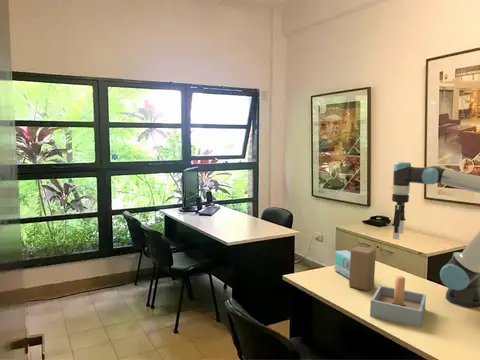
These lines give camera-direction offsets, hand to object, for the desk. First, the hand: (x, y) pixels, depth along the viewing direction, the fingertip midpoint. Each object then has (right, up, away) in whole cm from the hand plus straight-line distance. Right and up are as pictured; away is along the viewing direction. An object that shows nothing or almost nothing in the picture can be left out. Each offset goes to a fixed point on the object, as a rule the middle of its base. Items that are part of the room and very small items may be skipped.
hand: (398, 236), depth 191 cm
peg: (-8, -31, -20) cm, 38 cm away
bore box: (-8, -31, -20) cm, 38 cm away
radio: (-18, -26, +26) cm, 41 cm away
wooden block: (-15, -28, +10) cm, 33 cm away
